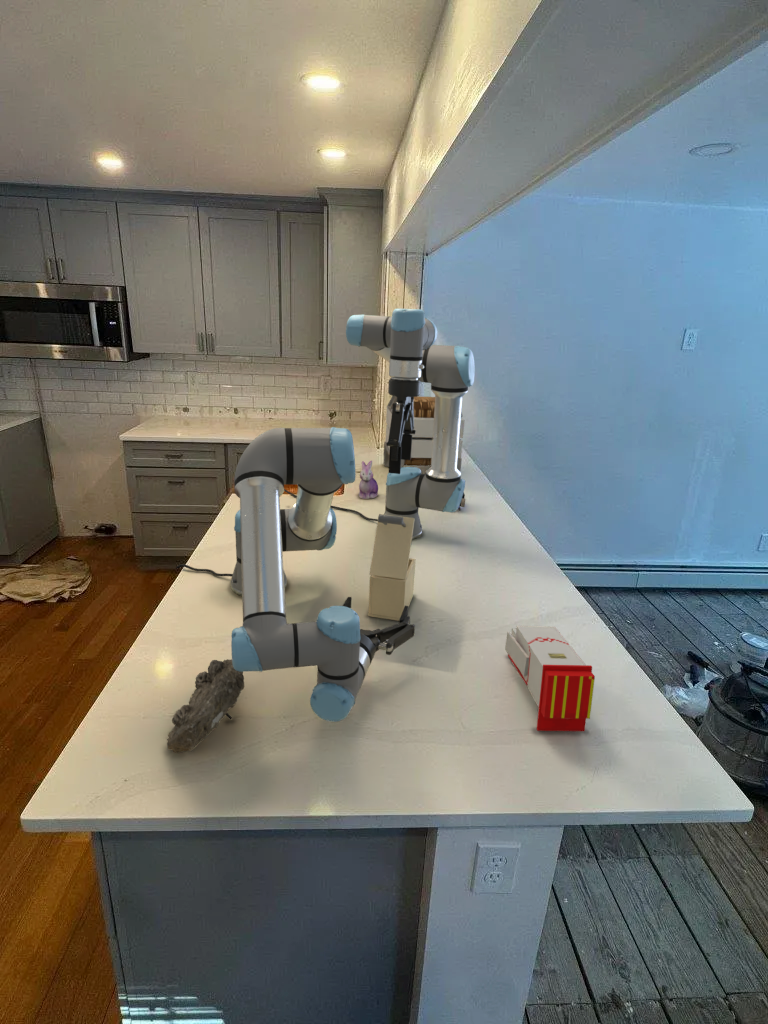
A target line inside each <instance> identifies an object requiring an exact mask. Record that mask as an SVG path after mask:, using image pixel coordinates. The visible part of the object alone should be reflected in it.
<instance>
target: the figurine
mask: <svg viewBox="0 0 768 1024" xmlns="http://www.w3.org/2000/svg"><path fill="white" fill-rule="evenodd" d="M372 466H373V460H369V461H368V463H367V464H366V462H365V461H364V460H362V461H361V471H360V472H359V478H360V482H359V484H358V490H359V492H358V497H359V499H363V500H369V499H374V498H377V497H378V493H379V485H378V481H377V480H376V478H374V473H373V471H372Z"/></svg>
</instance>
